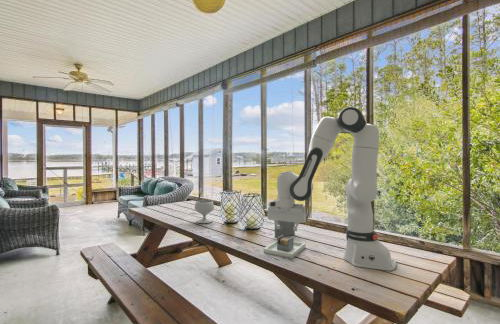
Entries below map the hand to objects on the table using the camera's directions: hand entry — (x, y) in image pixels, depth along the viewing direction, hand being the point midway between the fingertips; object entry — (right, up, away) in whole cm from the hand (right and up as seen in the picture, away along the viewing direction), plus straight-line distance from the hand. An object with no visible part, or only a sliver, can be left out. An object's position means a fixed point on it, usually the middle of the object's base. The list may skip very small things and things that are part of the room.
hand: (286, 229), depth 142 cm
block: (-1, -9, 0) cm, 9 cm away
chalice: (-52, -9, +60) cm, 80 cm away
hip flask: (+2, -10, +27) cm, 29 cm away
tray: (-1, -11, +1) cm, 11 cm away
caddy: (-1, -10, 0) cm, 10 cm away
